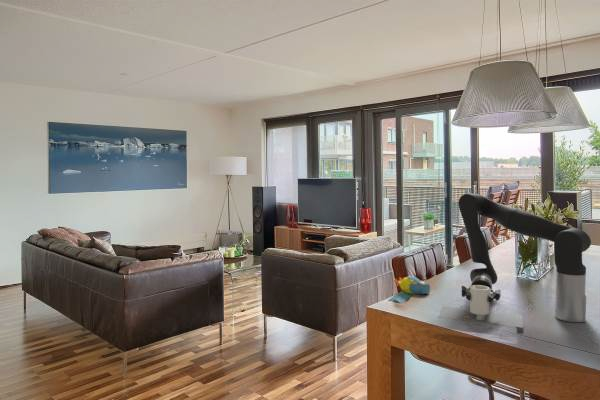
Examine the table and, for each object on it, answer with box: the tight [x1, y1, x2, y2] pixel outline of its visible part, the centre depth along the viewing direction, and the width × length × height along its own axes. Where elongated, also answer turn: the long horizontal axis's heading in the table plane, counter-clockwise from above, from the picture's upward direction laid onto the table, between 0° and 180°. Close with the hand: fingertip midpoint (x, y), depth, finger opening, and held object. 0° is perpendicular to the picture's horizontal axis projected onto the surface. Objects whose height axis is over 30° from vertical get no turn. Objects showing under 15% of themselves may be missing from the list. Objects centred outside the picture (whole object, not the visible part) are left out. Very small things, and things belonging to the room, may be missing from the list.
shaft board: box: [438, 305, 524, 333], centre depth 161 cm, size 28×14×10 cm, turn 65°
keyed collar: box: [469, 285, 490, 315], centre depth 158 cm, size 6×6×9 cm
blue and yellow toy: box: [388, 275, 431, 304], centre depth 194 cm, size 28×9×15 cm
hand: (479, 298), depth 156 cm, fingers closed on keyed collar, 6 cm apart
